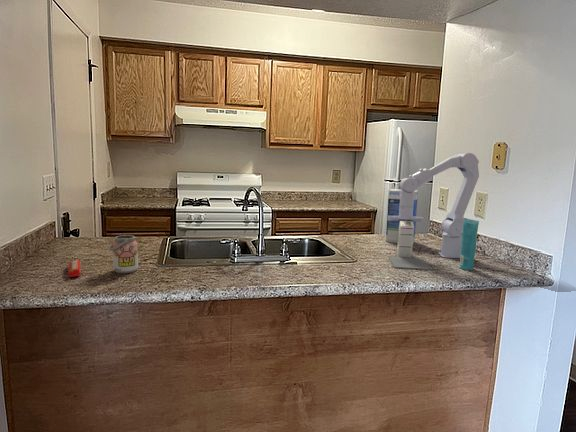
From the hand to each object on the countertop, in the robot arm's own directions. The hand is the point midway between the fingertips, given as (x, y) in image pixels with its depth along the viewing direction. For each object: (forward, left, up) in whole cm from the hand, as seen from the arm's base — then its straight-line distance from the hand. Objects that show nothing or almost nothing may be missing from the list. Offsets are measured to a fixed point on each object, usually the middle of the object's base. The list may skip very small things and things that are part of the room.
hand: (404, 237), depth 173 cm
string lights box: (-3, -26, -8) cm, 27 cm away
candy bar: (+118, +49, -8) cm, 128 cm away
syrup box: (0, +2, -7) cm, 7 cm away
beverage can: (+103, +44, -8) cm, 112 cm away
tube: (-21, +17, -8) cm, 28 cm away
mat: (0, +14, -7) cm, 16 cm away
